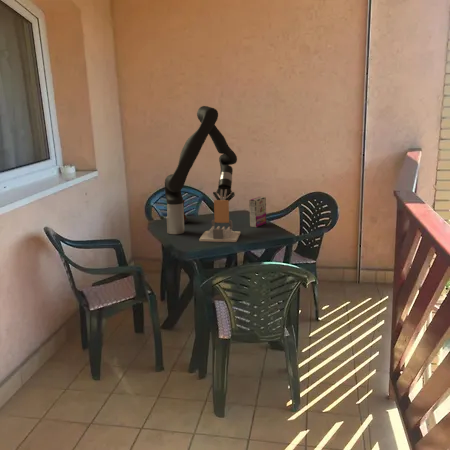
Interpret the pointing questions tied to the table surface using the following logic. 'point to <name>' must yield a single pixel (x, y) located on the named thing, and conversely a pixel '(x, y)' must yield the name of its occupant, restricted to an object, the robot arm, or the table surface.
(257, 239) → the table surface
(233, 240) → the heatsink board
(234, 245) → the table surface
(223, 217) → the brown flat panel
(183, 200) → the mug
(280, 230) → the table surface
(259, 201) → the candy bar box
